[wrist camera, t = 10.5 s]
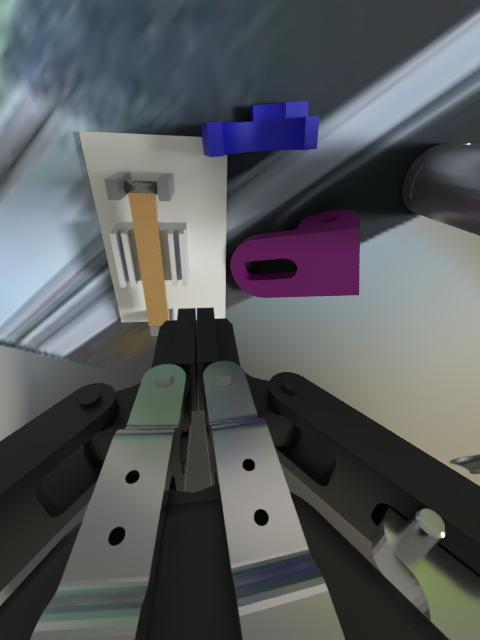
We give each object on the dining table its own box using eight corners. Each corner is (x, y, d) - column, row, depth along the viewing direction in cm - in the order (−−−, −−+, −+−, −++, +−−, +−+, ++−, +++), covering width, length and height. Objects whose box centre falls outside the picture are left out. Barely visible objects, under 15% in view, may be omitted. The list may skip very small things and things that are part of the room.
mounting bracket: (252, 273, 52) (358, 267, 45) (238, 298, 45) (358, 295, 39) (241, 222, 46) (359, 206, 40) (223, 242, 40) (360, 228, 33)
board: (226, 138, 35) (233, 138, 28) (224, 316, 49) (229, 344, 42) (80, 131, 33) (51, 129, 26) (122, 319, 47) (110, 349, 40)
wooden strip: (125, 179, 31) (122, 180, 30) (157, 180, 32) (155, 181, 30) (148, 321, 41) (146, 327, 40) (171, 321, 41) (171, 326, 40)
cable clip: (298, 104, 34) (320, 97, 29) (296, 147, 36) (316, 148, 31) (198, 109, 32) (204, 103, 27) (203, 154, 34) (210, 157, 30)
